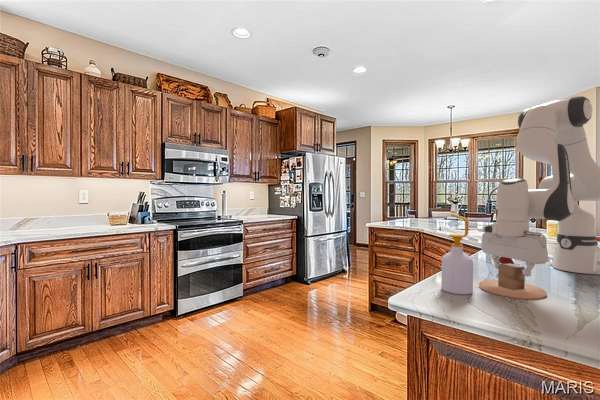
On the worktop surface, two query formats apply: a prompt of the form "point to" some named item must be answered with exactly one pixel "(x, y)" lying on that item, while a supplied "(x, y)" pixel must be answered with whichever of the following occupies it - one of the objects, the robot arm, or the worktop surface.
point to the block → (511, 276)
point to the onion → (506, 260)
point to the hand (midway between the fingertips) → (512, 272)
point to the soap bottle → (457, 266)
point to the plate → (525, 293)
